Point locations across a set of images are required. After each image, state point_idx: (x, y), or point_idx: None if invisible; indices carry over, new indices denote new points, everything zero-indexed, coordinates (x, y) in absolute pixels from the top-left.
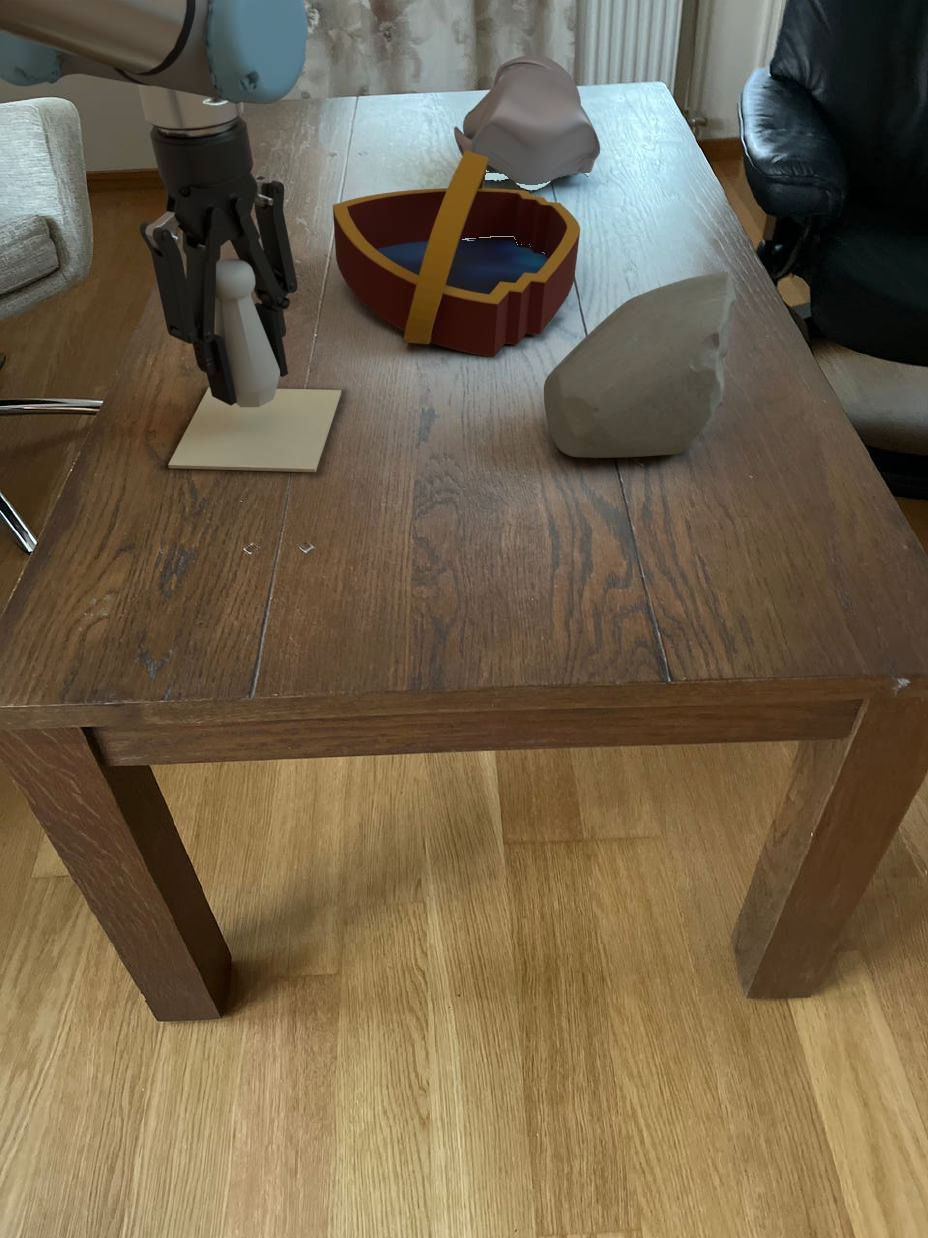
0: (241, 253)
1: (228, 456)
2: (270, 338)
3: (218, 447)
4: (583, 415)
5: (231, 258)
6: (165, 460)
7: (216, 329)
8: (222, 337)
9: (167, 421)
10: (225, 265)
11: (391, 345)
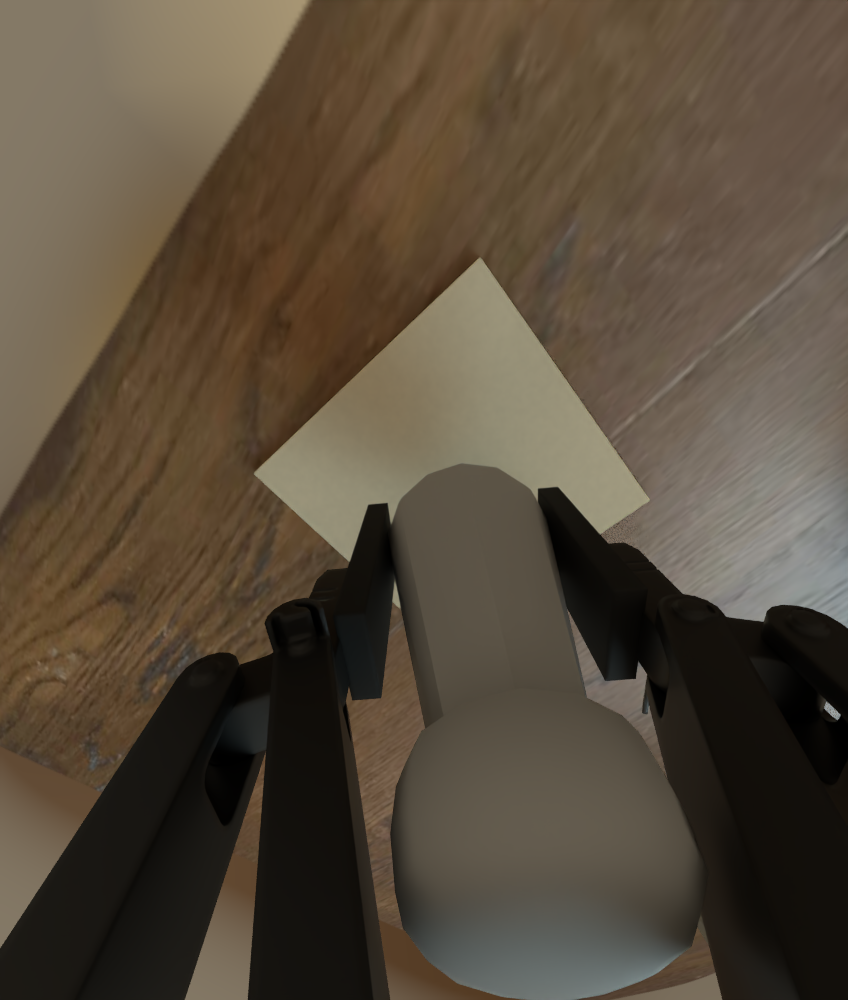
0: (753, 956)
1: (353, 529)
2: (569, 590)
3: (356, 492)
4: (702, 930)
5: (674, 893)
6: (261, 442)
7: (416, 602)
8: (380, 694)
9: (330, 310)
10: (545, 963)
11: None
